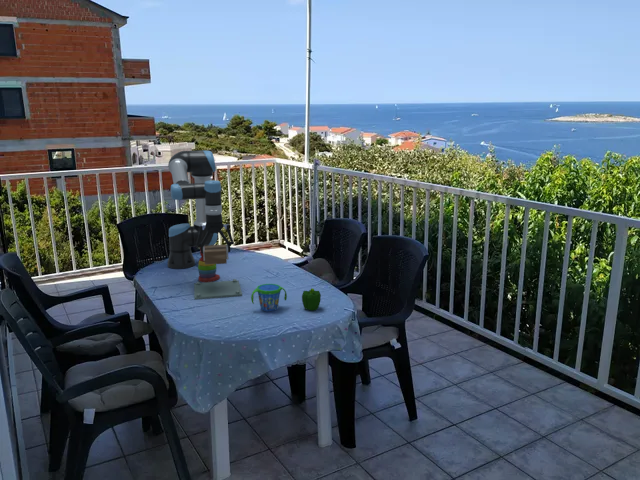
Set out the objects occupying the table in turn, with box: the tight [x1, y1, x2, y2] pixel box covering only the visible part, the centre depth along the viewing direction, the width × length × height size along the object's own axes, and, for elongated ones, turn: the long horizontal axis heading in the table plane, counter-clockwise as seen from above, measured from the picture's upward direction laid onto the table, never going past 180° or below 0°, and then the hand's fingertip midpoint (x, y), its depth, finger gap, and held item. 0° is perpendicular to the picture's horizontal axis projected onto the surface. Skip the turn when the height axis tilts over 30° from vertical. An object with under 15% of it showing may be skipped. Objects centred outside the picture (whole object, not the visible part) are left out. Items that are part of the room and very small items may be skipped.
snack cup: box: [250, 283, 288, 313], centre depth 228 cm, size 16×10×10 cm
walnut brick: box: [204, 244, 228, 265], centre depth 250 cm, size 13×10×6 cm
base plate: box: [193, 278, 243, 300], centre depth 254 cm, size 22×22×2 cm
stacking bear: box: [197, 247, 221, 283], centre depth 269 cm, size 11×10×18 cm
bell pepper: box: [301, 288, 322, 312], centre depth 228 cm, size 8×8×10 cm
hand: (215, 259), depth 250 cm, fingers closed on walnut brick, 10 cm apart
